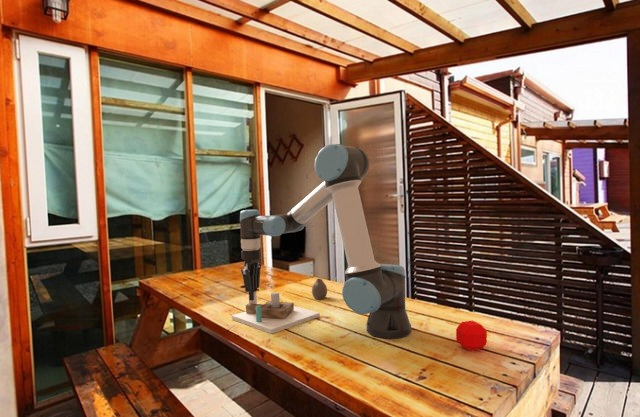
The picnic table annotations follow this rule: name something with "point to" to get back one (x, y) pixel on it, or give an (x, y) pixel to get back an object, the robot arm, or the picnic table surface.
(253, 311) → the collar
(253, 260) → the robot arm
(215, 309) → the picnic table surface
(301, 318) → the base
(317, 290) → the avocado
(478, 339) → the ball
